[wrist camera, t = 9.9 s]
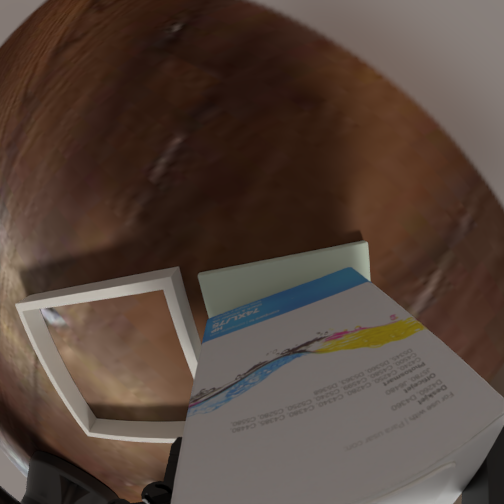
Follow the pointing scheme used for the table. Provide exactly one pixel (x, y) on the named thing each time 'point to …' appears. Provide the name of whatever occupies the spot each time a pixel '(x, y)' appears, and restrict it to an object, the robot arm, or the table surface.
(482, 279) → the table surface
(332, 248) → the mat
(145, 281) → the tray rim
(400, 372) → the ink box
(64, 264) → the table surface
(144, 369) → the table surface
